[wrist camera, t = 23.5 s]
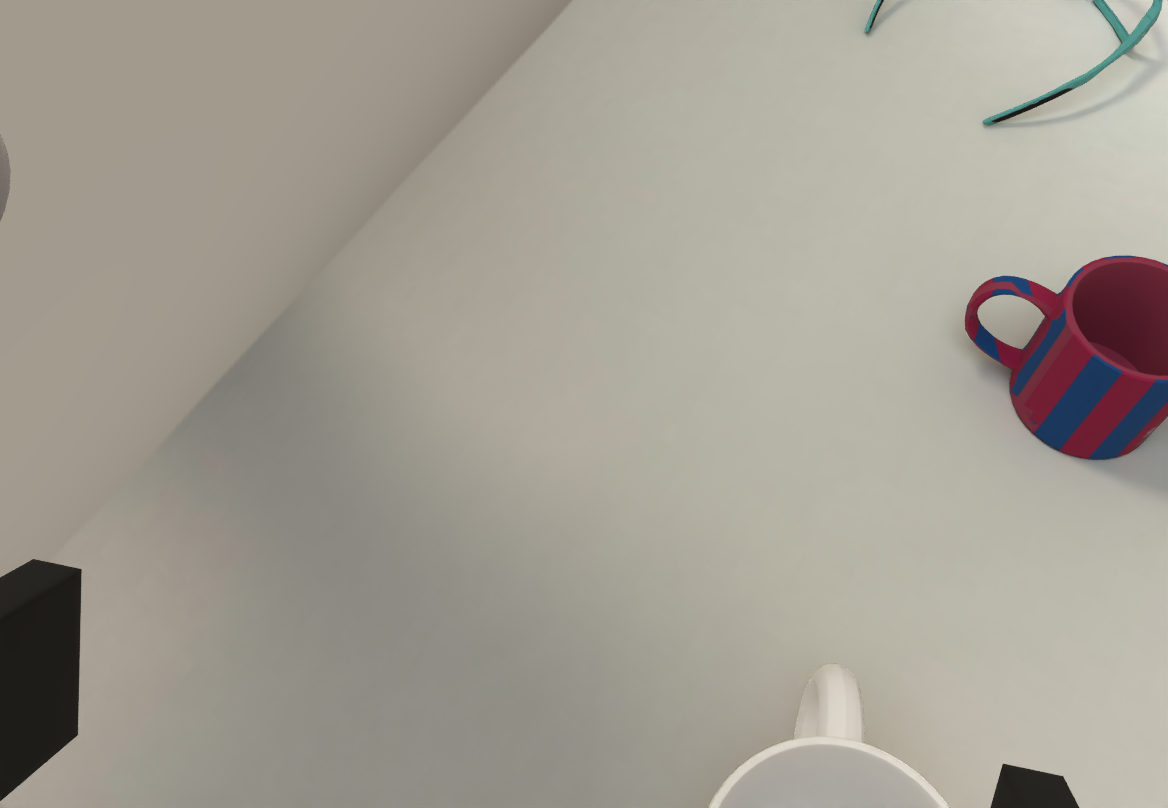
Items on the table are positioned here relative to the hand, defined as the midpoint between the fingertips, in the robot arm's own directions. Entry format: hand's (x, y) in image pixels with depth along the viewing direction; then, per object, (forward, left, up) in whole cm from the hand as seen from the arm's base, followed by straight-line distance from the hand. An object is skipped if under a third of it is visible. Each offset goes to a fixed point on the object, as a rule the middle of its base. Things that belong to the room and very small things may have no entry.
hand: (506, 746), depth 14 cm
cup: (+18, +28, -28) cm, 43 cm away
